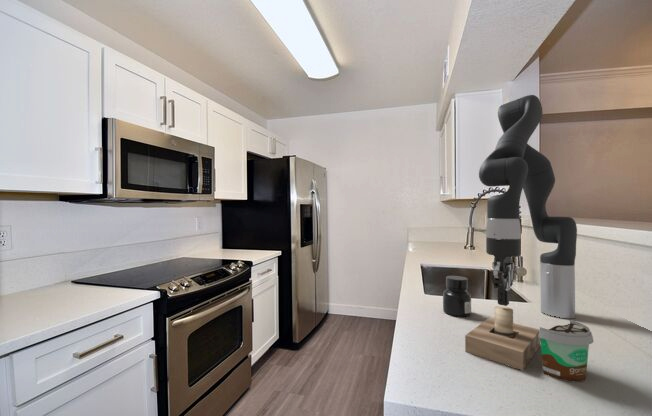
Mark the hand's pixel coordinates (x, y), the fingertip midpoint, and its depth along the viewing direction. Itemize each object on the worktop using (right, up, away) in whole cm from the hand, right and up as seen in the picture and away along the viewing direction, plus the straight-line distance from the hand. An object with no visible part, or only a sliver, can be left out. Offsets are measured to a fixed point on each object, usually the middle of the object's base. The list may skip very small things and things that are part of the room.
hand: (503, 304), depth 73 cm
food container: (+7, -11, -13) cm, 18 cm away
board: (0, -11, 0) cm, 11 cm away
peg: (0, -11, 0) cm, 11 cm away
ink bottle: (0, -12, +26) cm, 29 cm away
